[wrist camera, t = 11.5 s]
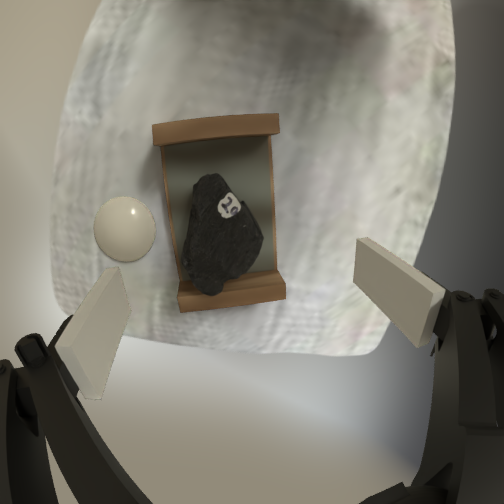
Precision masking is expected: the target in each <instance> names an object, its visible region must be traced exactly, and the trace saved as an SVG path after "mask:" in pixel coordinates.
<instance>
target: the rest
mask: <svg viewBox="0 0 504 504" xmlns="http://www.w3.org/2000/svg"><path fill="white" fill-rule="evenodd" d="M152 132H153V144H154V145H156V146H161V156H162V166H163V175H164V184H165V192H166V199H167V207H168V214H169V221H170V227H171V234H172V240H173V246H174V252H175V258H176V263H177V269H178V274H179V279H180V283H179V289H178V295H177V299H178V304H179V308H180V312H181V313H183V312H193V311H202V310H210V309H218V308H227V307H234V306H242V305H249V304H256V303H263V302H270V301H277V300H283V299H286V283H285V282H284V280H283V278H282V277H281V275H280V273H279V271H278V270H277V251H276V226H275V204H274V184H273V166H272V149H271V135H274V134H278V133H280V128H279V113H273V114H244V115H228V116H216V117H206V118H196V119H188V120H180V121H173V122H167V123H160V124H154V125H152ZM214 173H218V174H220V175H221V176H222V177H223V178H224V180H225V181H226V183H227V184H228V186H229V187H230V189H231V190H232V192H233V193H234V194H235V196H236V197H237V198H238V200H239V201H240V202H241V201H242V200H243V201H244V202H245V203H246V204H247V206H248V208H249V209H250V211H251V212H252V214H253V216H254V217H255V219H256V221H257V222H258V224H259V227H260V229H261V231H262V234H263V236H264V240H263V243H262V247H261V250H260V254H259V256H258V258H257V259H256V260H255V262H254V264H253V265H252V266H251V267H250V269H249V270H248V271H247V273H245V274H242V275H241V276H240V277H239V278H238V279H233V280H231V279H230V280H228V281H226V282H225V283H224V287H223V290H222V292H221V293H219V294H218V295H215V296H208V295H205V294H202V293H201V291H199V290H198V289H197V288H196V287H195V286H194V285H193V283H192V281H191V278H190V276H189V274H188V273H187V270H186V269H185V268H184V267H183V265H182V263H181V255H182V251H183V245H184V241H185V239H186V235H187V231H188V224H189V217H190V211H191V209H192V200H193V185H194V184H196V183H197V182H198V181H199V179H200V178H201V177H202V176H204V175H206V174H214Z"/></svg>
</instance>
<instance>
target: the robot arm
mask: <svg viewBox="0 0 504 504" xmlns="http://www.w3.org/2000/svg"><path fill="white" fill-rule="evenodd" d="M353 282H354V283H355V284H356V285H357V286H358V287H359V288H360V289H361V290H362V291H363V292H364V293H365V294H366V295H367V296H368V297H369V298H370V299H371V300H372V301H373V302H374V303H375V304H376V305H377V306H378V307H379V308H380V309H381V310H382V312H383V313H384V314H385V315H386V316H387V317H388V318H389V319H390V320H391V321H392V322H393V323H394V324H395V325H396V326H397V327H398V328H399V329H400V330H401V331H402V332H403V333H404V334H405V336H406V337H407V338H408V339H409V340H410V341H411V342H412V343H413V344H414V345H415V346H416V347H417V348H418V347H421V346H423V345H426V344H428V343H429V342H430V339H431V336H432V333H433V332H434V333H435V334H436V335H437V339H436V342H435V344H434V347H433V349H432V352H431V355H430V356H433V353H435V364H434V366H435V367H434V382H433V394H432V403H431V411H430V419H429V426H428V432H427V438H426V443H425V448H424V453H423V457H422V461H421V465H420V468H419V471H418V473H417V474H416V476H415V478H414V480H413V482H412V484H411V486H410V487H405V486H404V484H403V482H401V483H399V484H397V485H395V486H393V487H391V488H388V489H386V490H384V491H382V492H380V493H377V494H375V495H373V496H370V497H368V498H367V499H365V500H364V501H362V502H361V503H359V504H504V294H503V293H501V292H499V290H497V289H486V290H485V291H484V294H483V297H482V299H475V298H474V297H473V296H472V295H471V294H469V293H467V292H464V291H453V292H450V291H449V290H447V289H446V288H445V287H443V286H442V285H440V284H439V283H438V282H435V280H433V279H432V278H430V277H429V276H428V275H426V274H425V273H423V272H421V271H418V270H417V269H415V268H414V267H412V266H411V265H409V264H408V263H407V262H405V261H404V260H402V259H401V258H399V257H397V256H396V255H394V254H393V253H391V252H390V251H388V250H387V249H385V248H384V247H382V246H381V245H379V244H377V243H376V242H374V241H373V240H371V239H369V238H368V237H367V238H359V239H357V242H356V256H355V267H354V278H353ZM130 313H131V308H130V305H129V301H128V298H127V295H126V291H125V288H124V284H123V280H122V277H121V273H120V269H119V267H113V268H106V270H105V271H104V272H103V274H102V275H101V276H100V278H99V279H98V281H97V282H96V283H95V285H94V286H93V288H92V289H91V290H90V292H89V293H88V295H87V296H86V298H85V299H84V301H83V302H82V303H81V305H80V306H79V308H78V309H77V311H76V313H75V314H74V315H71V316H69V317H68V318H67V319H66V320H65V321H64V322H63V323H62V325H61V326H60V328H59V330H58V331H57V332H56V335H55V336H54V337H53V339H52V340H51V342H50V344H49V345H48V347H47V346H46V344H45V342H44V340H43V338H42V336H41V335H40V334H37V333H33V334H29V335H26V336H25V337H23V338H21V339H20V340H19V341H18V342H17V344H16V346H15V352H16V354H17V355H18V357H19V359H20V361H21V362H22V364H23V366H24V367H21V368H14V367H13V366H12V364H11V362H10V361H9V360H6V359H3V360H0V504H59V503H58V499H57V496H56V492H55V488H54V484H53V479H52V475H51V471H50V465H49V460H48V453H47V448H46V440H45V436H46V438H47V441H48V444H49V446H50V448H51V450H52V453H53V455H54V457H55V459H56V462H57V464H58V466H59V468H60V470H61V472H62V474H63V476H64V478H65V480H66V482H67V484H68V486H69V487H70V489H71V491H72V493H73V494H74V496H75V498H76V499H77V501H78V503H79V504H153V503H152V502H151V501H150V500H149V499H148V498H147V497H146V495H145V494H144V493H143V492H142V491H141V490H140V489H139V487H138V486H137V485H136V484H135V483H134V481H133V480H132V479H131V478H130V476H129V475H128V474H127V473H126V472H125V470H124V469H123V468H122V466H121V465H120V464H119V462H118V461H117V459H116V458H115V457H114V455H113V454H112V453H111V451H110V450H109V448H108V447H107V445H106V444H105V442H104V441H103V439H102V438H101V436H100V435H99V433H98V432H97V430H96V428H95V427H94V425H93V424H92V422H91V420H90V418H89V417H88V415H87V413H86V412H85V410H84V408H83V406H82V404H81V402H80V401H79V400H78V398H77V393H78V391H79V390H80V391H81V393H82V394H83V396H84V397H85V399H95V400H101V399H102V395H103V392H104V388H105V385H106V382H107V379H108V376H109V372H110V369H111V366H112V363H113V360H114V357H115V354H116V351H117V349H118V345H119V343H120V340H121V337H122V335H123V332H124V329H125V327H126V324H127V321H128V319H129V316H130ZM495 327H496V329H497V334H496V337H495V338H493V336H492V334H493V332H494V329H495ZM496 421H497V424H498V427H497V424H496Z"/></svg>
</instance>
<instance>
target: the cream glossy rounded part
mask: <svg viewBox="0 0 504 504" xmlns="http://www.w3.org/2000/svg"><path fill="white" fill-rule="evenodd" d="M94 234H95V238H96V241H97V243H98V245H99V246H100V248H101V249H102V250H103V252H105V253H106V254H107V255H108V256H109V257H111V258H113V259H115V260H118V261H123V262H129V261H134V260H137V259H139V258H141V257H143V256H144V255H145V254H146V253H147V252H148V251H149V250H150V248H151V246H152V244H153V242H154V239H155V234H156V227H155V222H154V218H153V216H152V214H151V212H150V211H149V209H148V208H147V207H146V206H145V205H144V204H143V203H142V202H140V201H138V200H137V199H134V198H131V197H125V196H124V197H116V198H113V199H111V200H109V201H108V202H106V203H105V204H104V205H103V206H102V207H101V208H100V209H99V211H98V212H97V215H96V217H95V221H94Z"/></svg>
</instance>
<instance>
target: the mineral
mask: <svg viewBox="0 0 504 504" xmlns="http://www.w3.org/2000/svg"><path fill="white" fill-rule="evenodd" d="M263 240H264V236H263V234H262V231H261V229H260V227H259V224H258V222H257V221H256V219H255V217H254V216H253V214H252V212H251V211H250V209H249V208H248V206H247V204H246V203H245V202H244V201H243V200H242V201H241V202H240V201H239V200H238V198H237V197H236V196H235V194H234V193H233V192H232V190H231V189H230V187H229V186H228V184H227V183H226V181H225V180H224V178H223V177H222V176H221V175H220V174H218V173H214V174H206V175H204V176H202V177H201V178H200V179H199V181H198V182H197V183H196V184H194V185H193V200H192V209H191V211H190V217H189V224H188V231H187V235H186V239H185V241H184V245H183V251H182V255H181V263H182V265H183V267H184V268H185V269H186V270H187V273H188V274H189V276H190V278H191V281H192V283H193V285H194V286H195V287H196V288H197V289H198V290H199V291H201V293H202V294H205V295H208V296H215V295H218V294H219V293H221V292H222V290H223V287H224V283H225V282H226V281H228V280H230V279H231V280H233V279H238V278H239V277H240V276H241V275H242V274H245V273H247V271H248V270H249V269H250V267H251V266H252V265H253V264H254V262H255V260H256V259H257V258H258V256H259V254H260V250H261V247H262V243H263Z"/></svg>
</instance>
